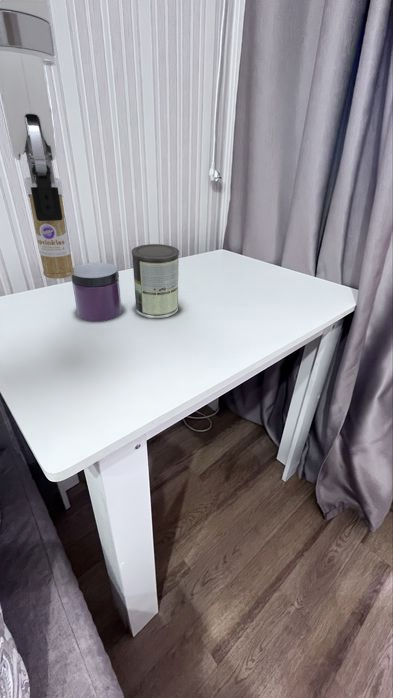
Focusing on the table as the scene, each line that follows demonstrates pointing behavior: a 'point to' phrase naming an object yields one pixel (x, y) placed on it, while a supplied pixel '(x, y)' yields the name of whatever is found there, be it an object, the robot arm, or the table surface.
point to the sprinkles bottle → (52, 239)
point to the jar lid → (95, 274)
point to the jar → (98, 301)
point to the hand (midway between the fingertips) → (48, 214)
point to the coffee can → (156, 280)
